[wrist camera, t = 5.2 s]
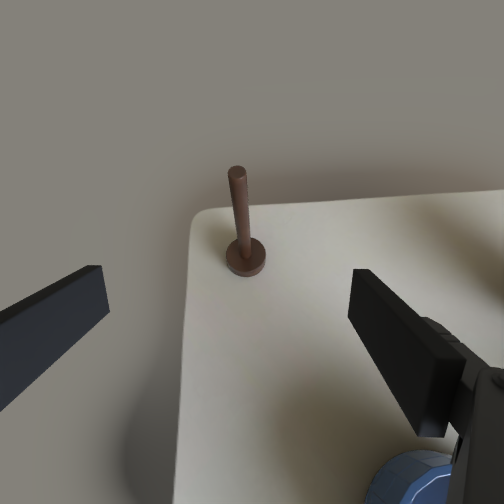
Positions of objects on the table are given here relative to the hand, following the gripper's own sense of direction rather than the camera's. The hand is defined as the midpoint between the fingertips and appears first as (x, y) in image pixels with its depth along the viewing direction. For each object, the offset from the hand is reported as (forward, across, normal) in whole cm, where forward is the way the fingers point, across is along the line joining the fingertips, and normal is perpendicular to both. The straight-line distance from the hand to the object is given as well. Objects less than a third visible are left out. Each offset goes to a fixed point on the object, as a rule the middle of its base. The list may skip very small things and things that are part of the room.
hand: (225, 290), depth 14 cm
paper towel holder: (+19, 0, -5) cm, 19 cm away
